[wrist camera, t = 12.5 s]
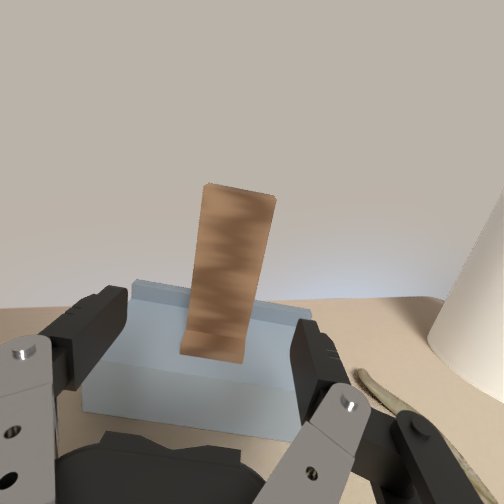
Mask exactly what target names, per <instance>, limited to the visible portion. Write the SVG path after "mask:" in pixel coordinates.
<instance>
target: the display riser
mask: <svg viewBox="0 0 504 504" xmlns="http://www.w3.org/2000/svg"><path fill="white" fill-rule="evenodd" d="M190 294H191V289H190V288H184V287H179V286H173V285H167V284H162V283H156V282H150V281H144V280H139V279H137V280H136V281H134V283H133V284H132V297H131V300H130V301H129V302H128V307H127V321H126V324H125V327H124V329H123V331H122V332H121V333H120V335H119V336H118V337H117V338H116V340H115V341H114V342H113V344H112V345H111V346H110V348H109V349H108V350H107V351H106V353H105V354H104V355H103V357H102V358H101V359H100V361H99V362H98V363H97V364H96V366H95V367H94V368H93V370H92V371H91V372H90V373H89V375H88V376H87V377H86V379H85V380H84V381H83V383H82V384H81V389H82V407H83V411H84V412H90V413H97V414H104V415H111V416H117V417H124V418H131V419H138V420H144V421H151V422H158V423H165V424H171V425H178V426H185V427H192V428H198V429H205V430H212V431H218V432H225V433H232V434H239V435H245V436H252V437H259V438H266V439H272V440H279V441H286V442H293V440H294V439H295V437H296V435H297V434H298V432H299V431H300V429H301V428H302V426H301V422H300V416H299V410H298V404H297V398H296V392H295V386H294V381H293V375H292V369H291V363H290V346H291V342H292V339H293V335H294V332H295V329H296V325H297V322H298V320H299V318H302V319H308V320H311V318H312V313H311V311H310V309H304V308H299V307H293V306H287V305H281V304H276V303H270V302H264V301H258V300H254V304H253V308H252V313H251V317H250V322H249V326H248V331H247V335H246V340H245V355H244V359H243V363H242V364H237V363H231V362H225V361H218V360H212V359H206V358H200V357H193V356H187V355H181V354H180V345H181V341H182V339H183V336H184V334H185V331H186V327H187V319H188V311H189V302H190Z"/></svg>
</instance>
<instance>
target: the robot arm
mask: <svg viewBox="0 0 504 504" xmlns="http://www.w3.org/2000/svg"><path fill="white" fill-rule="evenodd" d="M127 307H128V291H127V289H126V288H123V287H117V286H111V285H108V286H107V287H105V288H104V289H103V290H102V291H101V292H100V293H98V294H92V295H90V296H87V297H85V298H83V299H81V300H79V301H78V302H77V303H76V304H75V305H73V306H72V308H70V309H68V310H67V311H66V312H65V314H62V315H61V316H60V317H58V318H57V319H56V320H55V321H54V322H52V323H51V324H50V325H49V326H47V327H46V328H45V329H44V330H42V331H41V332H40V333H39V334H37V335H27V336H22V337H19V338H15V339H13V340H11V341H9V342H7V343H5V344H3V345H2V346H1V347H0V504H339V501H340V499H341V496H342V493H343V491H344V488H345V485H346V482H347V480H348V477H349V474H350V472H353V473H355V474H357V475H359V476H361V477H363V478H365V479H367V480H369V481H370V483H371V486H372V490H373V493H374V496H375V500H376V503H377V504H484V503H483V501H482V500H481V498H480V496H479V495H478V493H477V492H476V490H475V488H474V487H473V485H472V483H471V482H470V480H469V479H468V477H467V475H466V474H465V472H464V471H463V469H462V467H461V466H460V464H459V462H458V461H457V459H456V458H455V456H454V454H453V453H452V451H451V450H450V448H449V446H448V445H447V443H446V441H445V440H444V438H443V437H442V435H441V433H440V432H439V431H438V429H437V428H436V427H435V426H434V425H433V424H432V423H431V422H430V421H429V420H427V419H426V418H425V417H423V416H421V415H420V414H418V413H416V412H413V411H410V410H401V411H399V412H398V414H397V415H396V417H395V418H394V417H392V416H389V415H387V414H385V413H382V412H380V411H378V410H376V409H374V408H372V407H371V406H370V403H369V401H368V400H367V398H366V397H365V396H364V395H363V393H362V392H360V391H359V390H358V389H356V388H355V387H353V386H351V383H350V381H349V378H348V376H347V374H346V371H345V369H344V367H343V364H342V362H341V360H340V357H339V355H338V352H337V350H336V348H335V345H334V343H333V341H332V340H331V339H330V338H329V337H328V336H327V335H326V334H325V333H320V331H319V328H318V325H317V323H316V321H313V320H308V319H302V318H299V320H298V322H297V325H296V329H295V332H294V335H293V339H292V342H291V346H290V363H291V369H292V375H293V381H294V386H295V392H296V398H297V404H298V410H299V416H300V422H301V426H302V428H301V429H300V431H299V432H298V434H297V435H296V437H295V439H294V440H293V442H292V443H291V445H290V446H289V448H288V449H287V451H286V452H285V454H284V455H283V457H282V459H281V460H280V462H279V463H278V465H277V466H276V468H275V469H274V471H273V472H272V474H271V475H270V477H269V479H268V480H267V482H266V481H265V480H264V479H263V478H262V477H261V476H260V475H259V474H258V473H256V472H255V471H254V470H253V469H251V468H250V467H248V466H247V465H245V464H243V463H241V462H240V457H241V450H238V449H231V448H224V447H217V446H210V445H207V446H199V447H192V448H185V449H177V450H170V449H168V448H166V447H163V446H161V445H159V444H157V443H155V442H153V441H151V440H148V439H146V438H144V437H142V436H140V435H133V434H125V433H118V432H111V431H106V432H105V434H104V435H103V437H102V439H101V441H100V443H97V444H92V445H88V446H84V447H81V448H78V449H76V450H73V451H71V452H69V453H67V454H65V455H63V456H61V457H60V446H59V427H58V407H57V396H58V395H59V394H60V393H61V392H62V390H69V391H76V390H77V389H78V388H79V386H80V385H81V384H82V383H83V381H84V380H85V379H86V377H87V376H88V375H89V373H90V372H91V371H92V370H93V368H94V367H95V366H96V364H97V363H98V362H99V361H100V359H101V358H102V357H103V355H104V354H105V353H106V351H107V350H108V349H109V348H110V346H111V345H112V344H113V342H114V341H115V340H116V338H117V337H118V336H119V335H120V333H121V332H122V331H123V329H124V327H125V324H126V321H127Z"/></svg>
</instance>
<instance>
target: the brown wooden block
mask: <svg viewBox="0 0 504 504" xmlns="http://www.w3.org/2000/svg"><path fill="white" fill-rule="evenodd" d="M275 204H276V198H275V196H273V195H269V194H264V193H258V192H253V191H248V190H243V189H238V188H233V187H228V186H223V185H218V184H213V183H208V184H206V185H204V187H203V196H202V203H201V212H200V220H199V229H198V236H197V245H196V253H195V262H194V269H193V278H192V286H191V294H190V302H189V311H188V319H187V327H186V331H185V334H184V336H183V339H182V341H181V345H180V354H181V355H187V356H193V357H200V358H206V359H212V360H218V361H225V362H231V363H237V364H242V363H243V359H244V355H245V340H246V335H247V331H248V326H249V322H250V317H251V313H252V308H253V304H254V299H255V294H256V290H257V285H258V281H259V276H260V272H261V267H262V263H263V258H264V254H265V249H266V245H267V240H268V236H269V231H270V227H271V222H272V218H273V213H274V209H275Z"/></svg>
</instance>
